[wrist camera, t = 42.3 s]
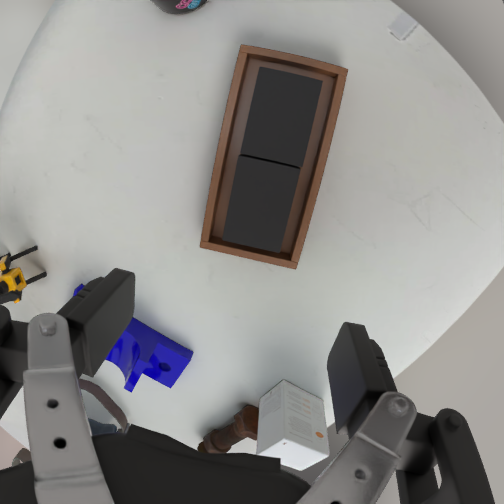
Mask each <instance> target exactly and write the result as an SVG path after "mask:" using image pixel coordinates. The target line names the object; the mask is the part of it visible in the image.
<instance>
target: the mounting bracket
mask: <svg viewBox="0 0 504 504" xmlns="http://www.w3.org/2000/svg"><path fill="white" fill-rule="evenodd" d="M83 287H84V285H83V284H81V285H79V286H78V287H77V288H76V289H75V291H74V294H73V297H74V296H75V295H76V294H77V293H78V292H79V291H80V290H82V288H83ZM192 355H193V351H191V350H189V349H187V348H185V347H183V346H182V345H180V344H178V343H176V342H174V341H173V340H171V339H169V338H167V337H165V336H164V335H162V334H160V333H158V332H157V331H155V330H153V329H152V328H150V327H148V326H147V325H145V324H143V323H141V322H140V321H138V320H137V319H135V318H133V317H132V319H131V321H130V323H129V325H128V326H127V327H126V329H125V330H124V332H123V333H122V335H121V336H120V338H119V339H118V341H117V342H116V344H115V345H114V346H113V348H112V349H111V351H110V352H109V354H108V355H107V357H106V358H105V360H108V361H110V362H112V363H114V364H115V365H117V366H118V367H119V368H120V369H121V371H122V372H123V374H124V377H125V386H124V389H126V390H128V391H130V392H131V393H132V391H133V389H134V387H135V385H136V383H137V381H138V380H139V378H140V376H141V374H142V373H143V374H145V375H147V376H149V377H150V378H152V379H154V380H156V381H158V382H160V383H161V384H163V385H165V386H167V387H169V388H171V387H172V386H173V385H174V383H175V382H176V380H177V379H178V378H179V376H180V375H181V373H182V372H183V370H184V369H185V368H186V366H187V365H188V363H189V362H190V360H191V358H192Z"/></svg>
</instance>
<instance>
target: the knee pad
mask: <svg viewBox="0 0 504 504" xmlns="http://www.w3.org/2000/svg"><path fill="white" fill-rule="evenodd" d="M78 380H79V385H80V389H83V390H86V391H87V392H89V393H91V394H93V395H94V396H95V397H96V398H97V399H98V400H99V401H100V402H101V404H102V405H103V406H104V407H105V408H106V409H107V410H108V412H109V413H110V414H111V415H112V416H113V417H114V418H115V419H116V420H117V421H118V423H119V424H120V425H121V429H118V431H117V427H116V426H115V425H114V424H102V423H99V422H97V421H95V420H92V419H90V418H88V421H89V425H90V428H91V432H92V435H96V434H102V433H111V432H116V431H117V432H122V433H127V432H128V430H129V428H130V426H129V425H130V424H129V423H127V419H126V416H125V414H124V413H123V412H122V410H121V409H120V408H119V407H118V406H117V405H116V404H115V403H114V401H113V400H112V399H111V398H110V397H109V396H108V395H107V393H106V392H105V391H104V390H103V389H101V388H100V387H99V386H98V385H96V384H94V383H92V382H90V381H87V380H83V379H80V378H79V379H78ZM19 459H20V460H21V461H22V462H26V461H29V460H32V457H31V452H30V451H29V450H27V449H25V448H22V449H21V450H20V451H19V453H18V454H17V455H16V457H15V458H14V460H13V462H12V466H15V465H18V464H21V463H20V460H19Z"/></svg>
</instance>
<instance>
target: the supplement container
mask: <svg viewBox="0 0 504 504" xmlns="http://www.w3.org/2000/svg"><path fill="white" fill-rule="evenodd" d="M150 1H152V2H153V3H154V4H155V5H156V6H157V7H158V8H159V9H161V10H162V11H164V12H167V13H171V14H183V13H187V12H191V11H193V10H195V9H197V8H199V7H200V6H202V5H203V4H204V3H205V2H206V1H207V0H150Z"/></svg>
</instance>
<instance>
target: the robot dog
mask: <svg viewBox="0 0 504 504" xmlns="http://www.w3.org/2000/svg"><path fill="white" fill-rule="evenodd" d="M36 250H37V247H36V246H34V247H32V248H30V249H27V250H25V251H23V252H21V253H18V254H16V255H14V256H12V257H10V256H11V255H10V253H8V254H6V255H4V256H1V257H0V270H1V271H0V304H3V303H6V302H9V301H14V303H17V302H19V301H20V300H21V296H22V290H23V289H24V288H25V287H26V286H27V285H28V284H30V283H32V282H34V281H36V280H39V279H41V278H43V277H46V276H47V274H46V272H43V273H41V274H39V275H37V276H35V277H33V278H30V279H28V280H26V281H25V279H24V277H23V274H22V271H21V269H20V268H13V269H9V267H10V264H11V261H13V260H15V259H17V258H20V257H22V256H24V255H26V254H29V253H31V252H33V251H36Z"/></svg>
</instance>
